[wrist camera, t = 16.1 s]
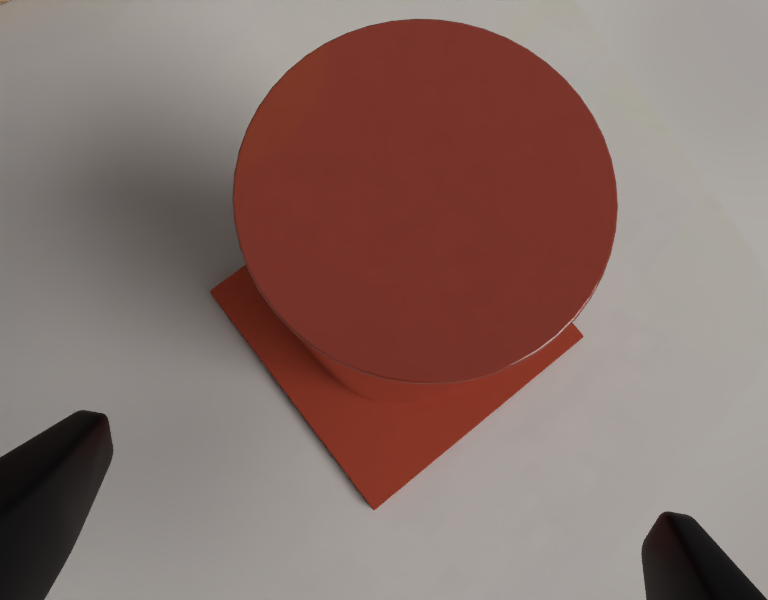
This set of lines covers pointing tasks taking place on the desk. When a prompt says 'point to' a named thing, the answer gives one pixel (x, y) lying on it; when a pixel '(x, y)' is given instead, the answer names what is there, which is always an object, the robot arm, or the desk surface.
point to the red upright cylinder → (424, 205)
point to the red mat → (365, 416)
